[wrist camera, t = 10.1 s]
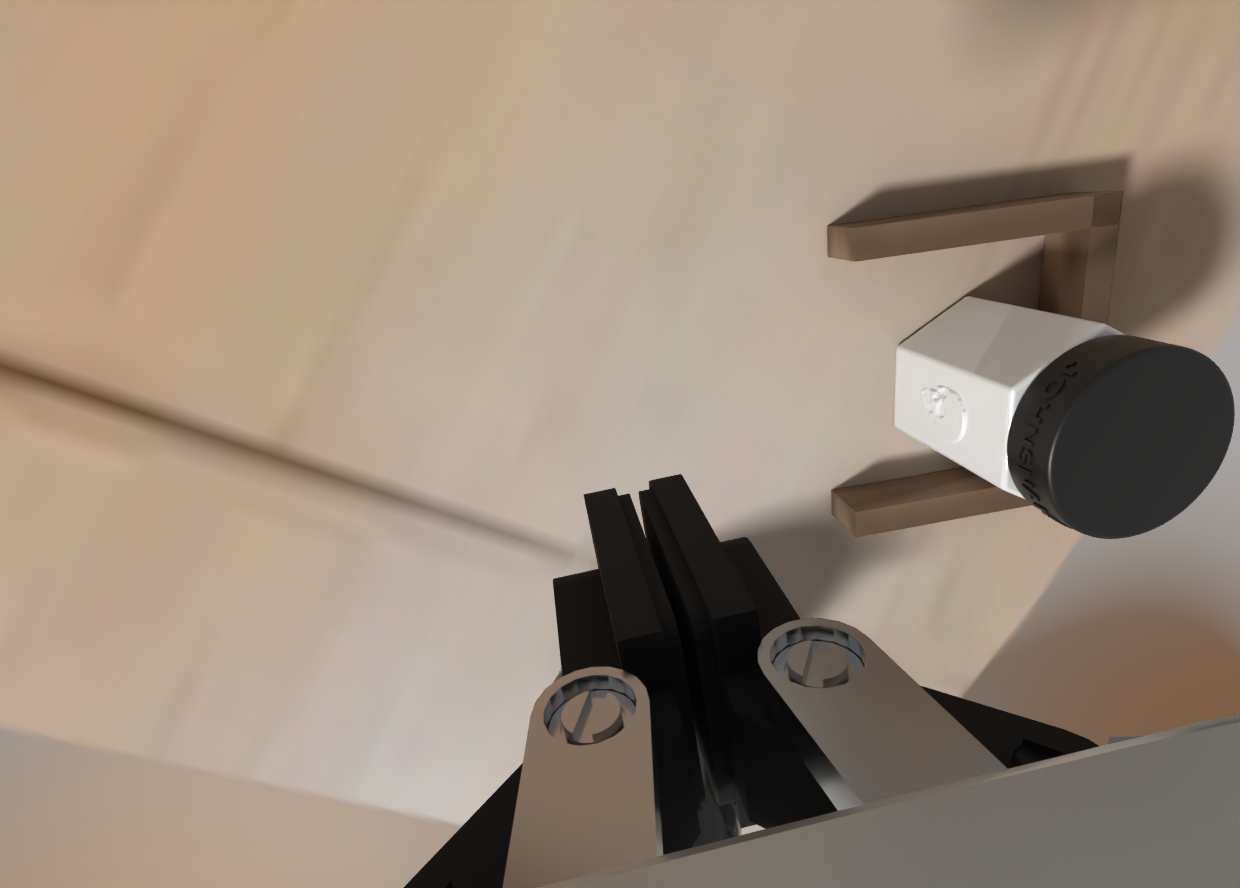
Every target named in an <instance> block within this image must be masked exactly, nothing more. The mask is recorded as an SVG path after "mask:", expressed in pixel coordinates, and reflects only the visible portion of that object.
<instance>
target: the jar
mask: <svg viewBox="0 0 1240 888" xmlns="http://www.w3.org/2000/svg"><path fill="white" fill-rule="evenodd" d="M894 426H895V427H896V428H897V429H899V430H901V431H902V432H904V433H906V434H908V435H909V436H911V437H913V438H914V439H916V440H918V441H920V442H921V443H923V444H925V445H927V446H928V447H930V448H932V449H933V450H935V451H937V452H939V453H940V454H942V455H944V456H945V457H947V458H949V459H951V460H952V461H954V462H956V463H957V464H959V465H961V466H963V467H964V468H966V469H968V470H969V471H971V472H973V473H975V474H976V475H978V476H980V477H981V478H983V479H985V480H987V481H988V482H990V483H992V484H993V485H995V486H997V487H999V488H1000V489H1002V490H1004V491H1006V492H1009V493H1011V494H1014V495H1016V496H1018V497H1021V498H1023V499H1025V500H1027V501H1028V502H1029V503H1031V504H1032V505H1033V506H1035V507H1036V508H1038V509H1040V510H1041V511H1042V513H1043V514H1045V515H1047V516H1048V517H1050V518H1052V519H1053V520H1055V521H1057V522H1058V523H1060V524H1062V525H1064V526H1066V527H1069V528H1071V529H1074V530H1076V531H1078V532H1080V533H1083V534H1085V535H1089V536H1092V537H1097V538H1104V539H1118V538H1125V537H1131V536H1135V535H1139V534H1142V533H1145V532H1148V531H1150V530H1152V529H1155V528H1156V527H1159V526H1161V525H1163V524H1164V523H1166V522H1168V521H1169V520H1171V519H1173V518H1174V517H1175V516H1177V515H1178V514H1180V513H1181V512H1182V511H1183V510H1185V509H1186V508H1187V507H1188V506H1189V505H1190V504H1191V503H1192V502H1193V501H1194V500H1195V499H1196V498H1197V497H1198V496H1199V495H1200V494H1201V493H1202V492H1203V490H1204V489H1205V488H1206V487H1207V486H1208V484H1209V483H1210V481H1211V480H1212V479H1213V477H1214V475H1215V474H1216V472H1217V471H1218V469H1219V467H1220V465H1221V463H1222V461H1223V459H1224V457H1225V455H1226V452H1227V450H1228V446H1229V444H1230V441H1231V437H1232V432H1233V426H1234V401H1233V395H1232V392H1231V388H1230V385H1229V383H1228V381H1227V379H1226V377H1225V375H1224V374H1223V372H1222V371H1221V370H1220V368H1219V367H1218V366H1217V365H1216V364H1215V363H1214V362H1213V361H1212V360H1211V359H1209V358H1208V357H1207V356H1205V355H1203V354H1202V353H1200V352H1198V351H1195V350H1193V349H1190V348H1187V347H1183V346H1178V345H1173V344H1168V343H1164V342H1159V341H1154V340H1150V339H1145V338H1140V337H1136V336H1130V335H1125V334H1123V333H1122V332H1120V331H1118V330H1116V329H1114V328H1112V327H1110V326H1109V325H1107V324H1104V323H1100V322H1095V321H1090V320H1085V319H1080V318H1075V317H1070V316H1065V315H1060V314H1055V313H1050V312H1045V311H1040V310H1035V309H1030V308H1026V307H1021V306H1016V305H1011V304H1006V303H1001V302H996V301H991V300H986V299H981V298H976V297H971V296H967V297H964V298H963V299H962V300H960V301H959V302H958V303H956V304H955V305H953V306H952V307H951V308H949V309H948V310H947V311H945V312H944V313H943V314H941V315H940V316H938V317H937V318H936V319H934V320H933V321H932V322H930V323H929V324H927V325H926V326H925V327H923V328H922V329H921V330H919V331H918V332H916V333H915V334H914V335H912V336H911V337H910V338H908V339H907V340H905V341H904V342H903V343H901V344H900V345H899V346H898V347H897V349H896V379H895V411H894Z"/></svg>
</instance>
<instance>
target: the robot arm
mask: <svg viewBox="0 0 1240 888" xmlns="http://www.w3.org/2000/svg"><path fill="white" fill-rule="evenodd" d="M584 499H585V504H586V509H587V514H588V519H589V524H590V529H591V534H592V539H593V544H594V549H595V553H596V558H597V563H598V568H599V569H596V570H591V571H587V572H582V573H578V574H573V575H569V576H564V577H559V578H555V579H553V587H554V597H555V607H556V617H557V627H558V637H559V646H560V656H561V666H562V676H563V677H561V678H559V679H558V680H556V681H555V682H554V683H553V684H551V685H550V686H549V687H547V688H546V689H545V690H544V692H543V693H542V694H541V695H540V697H539V698H538V699H537V701H536V702H535V705H534V708H533V711H532V713H531V717H530V723H529V729H528V735H527V741H526V748H525V754H524V760H523V763H522V764H521V765H520V767H519V768H518V769H517V770H516V771H515V772H514V773H513V774H512V775H511V776H510V777H509V778H508V779H507V780H506V781H505V782H504V783H503V784H502V785H501V786H500V787H499V788H498V790H497V791H496V792H495V793H494V794H493V795H492V796H491V797H490V798H489V799H488V800H487V801H486V802H485V803H484V804H483V805H482V806H481V807H480V808H479V809H478V810H477V811H476V813H475V814H474V815H473V816H472V817H471V818H470V819H469V820H468V821H467V822H466V823H465V824H464V825H463V826H462V827H461V828H460V829H459V830H458V831H457V832H456V833H455V834H454V835H453V837H452V838H451V839H450V840H449V841H448V842H447V843H446V844H445V845H444V846H443V847H442V848H441V849H440V850H439V851H438V852H437V853H436V854H435V855H434V856H433V858H431V860H430V861H429V862H428V863H427V864H426V865H425V866H424V867H423V868H422V869H421V870H420V871H419V872H418V873H417V874H416V875H415V876H414V877H413V878H412V879H411V881H410V882H409V883H408V884H407V885H406V886H405V887H404V888H1240V715H1236V716H1231V717H1226V718H1221V719H1216V720H1212V721H1206V722H1201V723H1197V724H1193V725H1189V726H1185V727H1181V728H1176V729H1172V730H1168V731H1164V732H1160V733H1156V734H1151V735H1147V736H1131V737H1109V741H1108V745H1104V746H1098V745H1097V744H1095V743H1094V742H1092V741H1090V740H1089V739H1086V738H1084V737H1082V736H1079V735H1076V734H1074V733H1072V732H1069V731H1066V730H1064V729H1061V728H1057V727H1054V726H1051V725H1048V724H1044V723H1041V722H1038V721H1035V720H1031V719H1028V718H1024V717H1021V716H1018V715H1015V714H1011V713H1008V712H1005V711H1002V710H998V709H995V708H992V707H988V706H985V705H982V704H978V703H975V702H972V701H969V700H965V699H962V698H959V697H956V696H952V695H949V694H946V693H942V692H939V691H936V690H933V689H929V688H926V687H923V686H920V685H919V684H918V683H916V682H915V681H914V680H913V679H912V678H911V677H910V676H909V675H908V674H907V673H906V672H905V671H904V670H903V669H902V668H901V667H900V666H898V665H897V664H896V663H895V662H894V661H893V660H892V659H891V658H890V657H889V656H888V655H887V654H886V653H885V652H884V651H883V650H881V649H880V648H879V647H878V646H877V645H876V644H875V643H874V642H873V641H872V640H871V639H870V638H869V637H868V636H866V635H865V634H863V633H862V632H861V631H859V630H858V629H856V628H855V627H852V626H850V625H847V624H845V623H842V622H840V621H835V620H829V619H823V618H808V619H800V617H799V616H798V614H797V613H796V611H795V610H794V608H793V607H792V605H791V604H790V602H789V600H788V599H787V597H786V596H785V594H784V593H783V591H782V590H781V588H780V587H779V585H778V584H777V582H776V580H775V579H774V577H773V576H772V574H771V573H770V571H769V570H768V568H767V567H766V565H765V563H764V562H763V560H762V559H761V557H760V556H759V554H758V553H757V551H756V550H755V548H754V547H753V545H752V543H751V542H750V541H749V540H748V538H746V537H742V538H738V539H733V540H728V541H724V542H719V540H718V538H717V536H716V534H715V533H714V531H713V529H712V527H711V526H710V524H709V522H708V520H707V519H706V517H705V515H704V513H703V511H702V510H701V508H700V506H699V504H698V503H697V501H696V499H695V497H694V496H693V494H692V492H691V490H690V488H689V487H688V485H687V483H686V481H685V480H684V478H683V476H682V475H681V474H679V475H674V476H670V477H665V478H660V479H655V480H651V481H649V490H644V491H639V499H640V505H641V511H642V517H643V523H644V529H645V535H646V538H645V535H644V532H643V529H642V527H641V524H640V521H639V518H638V516H637V513H636V510H635V508H634V505H633V502H632V499H631V497H630V494H625V495H620V496H618V495H617V492H616V489H615V488H613V489H608V490H603V491H598V492H594V493H589V494H584ZM696 739H697V740H696ZM697 743H698V746H699V749H700V752H701V755H702V758H703V761H704V764H705V767H706V770H707V773H708V776H709V779H710V782H711V785H712V789H713V792H714V795H715V798H716V800H717V803H718V805H719V806H720V805H724V804H728V803H732V804H733V807H734V810H735V813H736V816H737V819H738V821H739V824H740V827H741V828H744V827H748V826H752V825H756V824H757V825H759V826H761V827H763V828H765V829H764V830H760V831H756V832H752V833H749V834H745V835H741V836H737V837H733V838H729V839H725V840H721V841H717V842H713V843H709V844H705V845H701V846H697V847H693V848H691V847H692V846H693V844H694V843H695V841H696V839H697V838H698V836H699V835H700V833H701V830H700V824H699V818H698V812H697V811H700V810H704V809H707V804H706V797H705V791H704V784H703V778H702V772H701V765H700V759H699V752H698V746H697Z"/></svg>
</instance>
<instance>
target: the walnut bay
mask: <svg viewBox="0 0 1240 888" xmlns="http://www.w3.org/2000/svg"><path fill="white" fill-rule="evenodd" d="M1122 197H1123V191H1117V192H1074V193H1067V194H1059V195H1052V196H1045V197H1037V198H1030V199H1023V200H1015V201H1008V202H1001V203H993V204H986V205H979V206H971V207H964V208H957V209H949V210H942V211H934V212H927V213H920V214H912V215H905V216H898V217H890V218H883V219H876V220H868V221H861V222H854V223H846V224H839V225H832V226H827V238H828V257H831V258H837V259H843V260H849V261H863V260H870V259H877V258H884V257H891V256H898V255H905V254H912V253H919V252H926V251H933V250H940V249H947V248H954V247H961V246H968V245H975V244H982V243H989V242H996V241H1003V240H1010V239H1017V238H1024V237H1032V236H1039V235H1045V246H1044V257H1043V269H1042V280H1041V292H1040V303H1039V310H1040V311H1045V312H1050V313H1055V314H1060V315H1065V316H1070V317H1075V318H1080V319H1085V320H1090V321H1095V322H1100V323H1104V324H1107V320H1108V312H1109V304H1110V295H1111V287H1112V279H1113V271H1114V263H1115V255H1116V246H1117V238H1118V230H1119V222H1120V214H1121V205H1122ZM831 492H832V515H833V516H834V517H836V518H837V519H838V520H839V521H840V522H841V523H842V524H843V525H844V526H845V527H846V528H847V529H848V530H849V531H850V532H851V533H852V534H853V535H854V536H855V537H860V536H866V535H871V534H877V533H882V532H887V531H893V530H898V529H904V528H909V527H915V526H920V525H926V524H931V523H937V522H942V521H948V520H953V519H959V518H964V517H969V516H975V515H980V514H986V513H991V512H997V511H1002V510H1008V509H1013V508H1019V507H1024V506H1030V505H1032V504H1031V503H1029V502H1028V501H1027V500H1025V499H1023V498H1021V497H1018V496H1016V495H1014V494H1011V493H1009V492H1006V491H1004V490H1002V489H1000V488H999V487H997V486H995V485H993V484H992V483H990V482H988V481H987V480H985V479H983V478H981V477H980V476H978V475H976V474H975V473H973V472H971V471H969V470H968V469H966V468H964V467H962V468H956V469H950V470H945V471H939V472H933V473H927V474H922V475H916V476H910V477H905V478H899V479H893V480H888V481H882V482H876V483H870V484H865V485H859V486H853V487H848V488H842V489H836V490H831Z"/></svg>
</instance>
